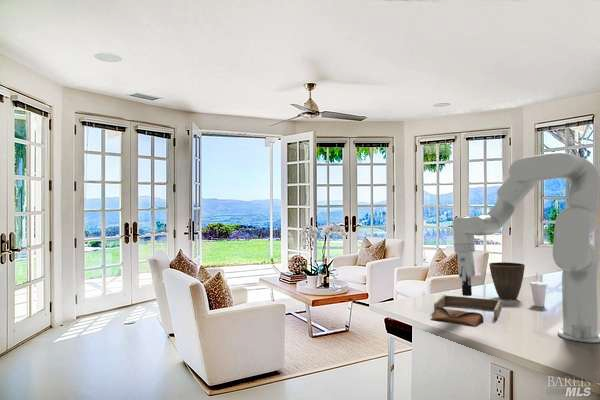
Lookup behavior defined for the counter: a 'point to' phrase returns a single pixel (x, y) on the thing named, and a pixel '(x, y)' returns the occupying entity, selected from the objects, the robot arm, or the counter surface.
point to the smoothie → (538, 292)
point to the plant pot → (507, 279)
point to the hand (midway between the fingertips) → (467, 295)
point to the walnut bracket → (470, 303)
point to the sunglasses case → (457, 317)
